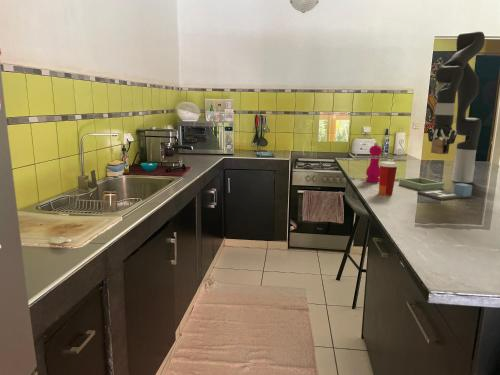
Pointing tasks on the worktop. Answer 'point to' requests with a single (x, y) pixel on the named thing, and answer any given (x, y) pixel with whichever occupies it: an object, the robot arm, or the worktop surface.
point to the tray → (421, 184)
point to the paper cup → (387, 177)
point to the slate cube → (463, 189)
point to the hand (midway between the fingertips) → (439, 152)
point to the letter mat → (440, 194)
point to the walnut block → (438, 146)
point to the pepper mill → (374, 164)
